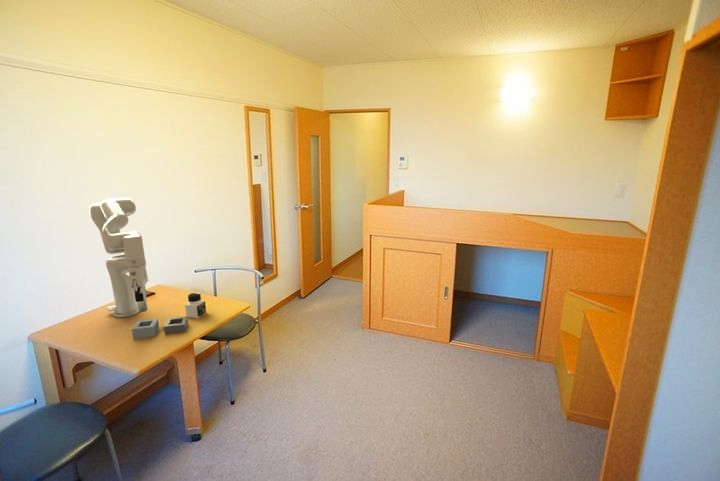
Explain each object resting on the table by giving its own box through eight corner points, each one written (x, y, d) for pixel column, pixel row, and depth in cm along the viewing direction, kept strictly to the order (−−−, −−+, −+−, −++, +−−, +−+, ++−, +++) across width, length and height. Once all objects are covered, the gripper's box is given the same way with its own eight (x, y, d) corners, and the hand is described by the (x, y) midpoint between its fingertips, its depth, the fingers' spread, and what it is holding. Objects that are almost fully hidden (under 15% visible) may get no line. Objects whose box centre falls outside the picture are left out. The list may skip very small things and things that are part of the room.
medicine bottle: (198, 318, 189) (195, 297, 186) (186, 317, 190) (183, 295, 187) (206, 312, 195) (204, 291, 192) (194, 311, 197) (192, 290, 194)
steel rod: (137, 312, 168) (133, 288, 165) (139, 309, 172) (135, 285, 169) (146, 311, 169) (143, 287, 166) (148, 308, 173) (145, 284, 170)
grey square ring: (164, 334, 172) (163, 326, 171) (168, 325, 181) (167, 318, 180) (185, 331, 175) (184, 324, 174) (188, 323, 183) (187, 316, 182)
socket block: (133, 339, 168) (131, 329, 167) (138, 330, 176) (137, 320, 175) (154, 336, 170) (153, 326, 169) (159, 327, 179) (158, 318, 177)
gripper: (139, 267, 158) (145, 305, 162) (149, 256, 173) (154, 291, 178) (120, 268, 156) (126, 307, 160) (132, 257, 171) (137, 293, 176)
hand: (141, 298), depth 169 cm, fingers closed on steel rod, 4 cm apart
